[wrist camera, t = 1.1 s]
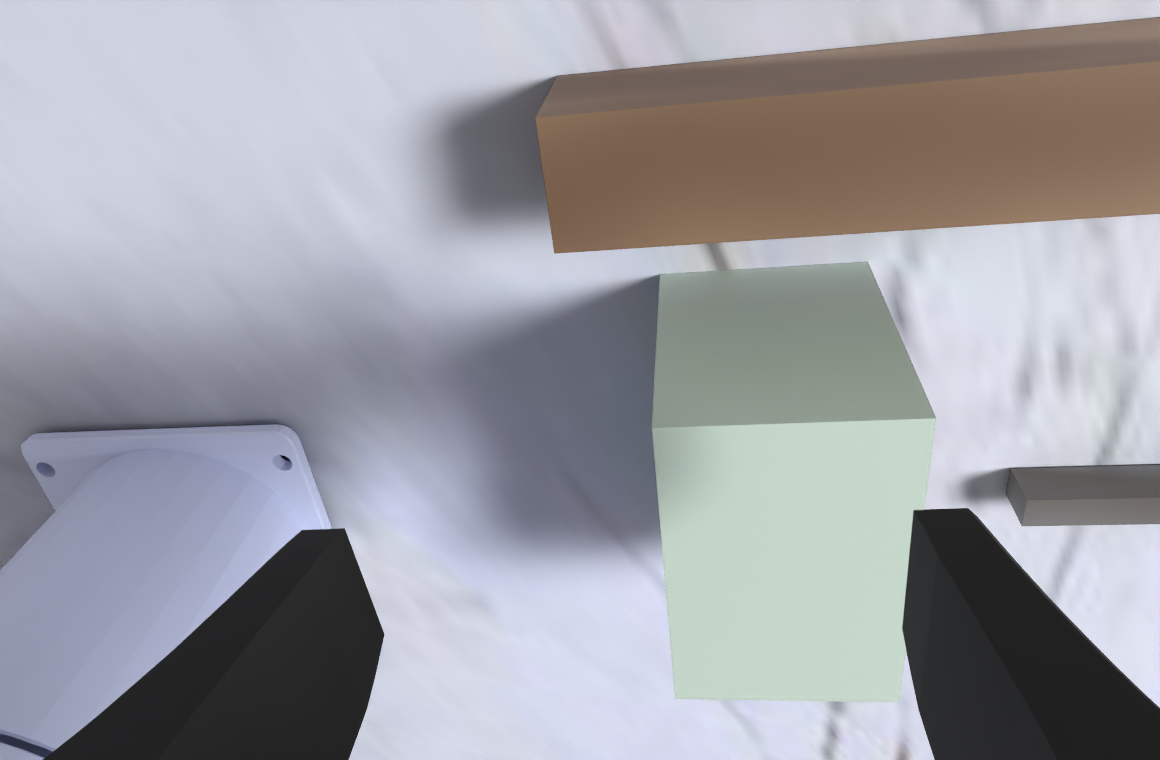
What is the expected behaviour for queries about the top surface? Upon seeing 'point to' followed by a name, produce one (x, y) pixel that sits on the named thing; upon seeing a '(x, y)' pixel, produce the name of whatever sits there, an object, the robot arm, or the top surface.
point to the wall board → (873, 164)
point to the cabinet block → (786, 482)
